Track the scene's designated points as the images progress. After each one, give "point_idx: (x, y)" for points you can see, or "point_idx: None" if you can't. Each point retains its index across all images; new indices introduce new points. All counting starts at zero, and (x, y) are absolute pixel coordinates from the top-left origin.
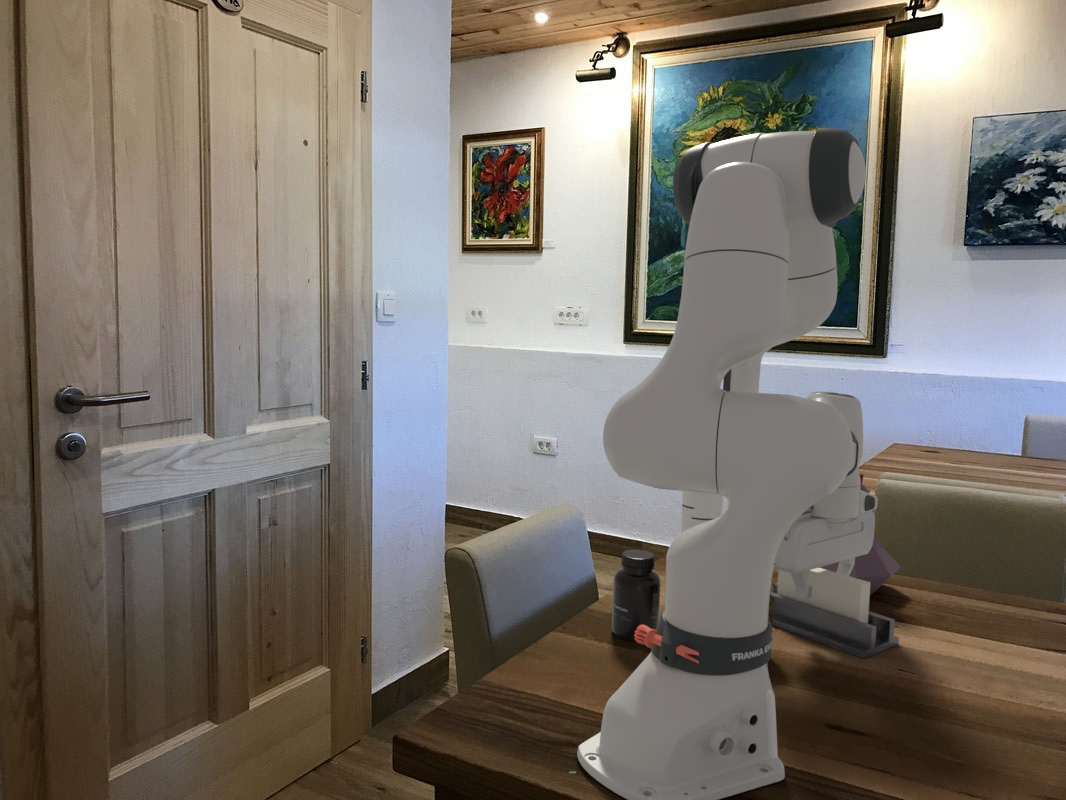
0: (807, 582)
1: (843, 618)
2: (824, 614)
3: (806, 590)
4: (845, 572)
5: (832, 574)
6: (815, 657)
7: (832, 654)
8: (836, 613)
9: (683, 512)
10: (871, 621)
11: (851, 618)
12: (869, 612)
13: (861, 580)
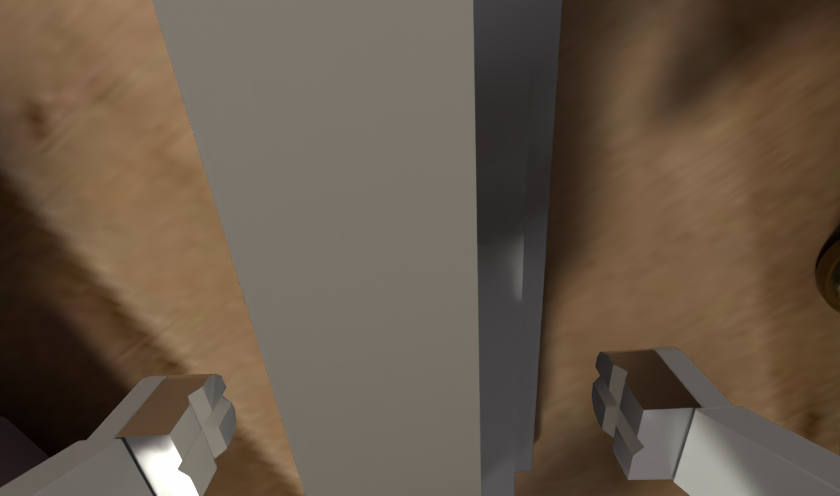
0: (775, 448)
1: (518, 107)
2: (521, 234)
3: (715, 389)
4: (102, 474)
5: (400, 465)
6: (722, 66)
7: (625, 44)
8: None
9: None
10: None
11: None
12: None
13: (240, 156)
